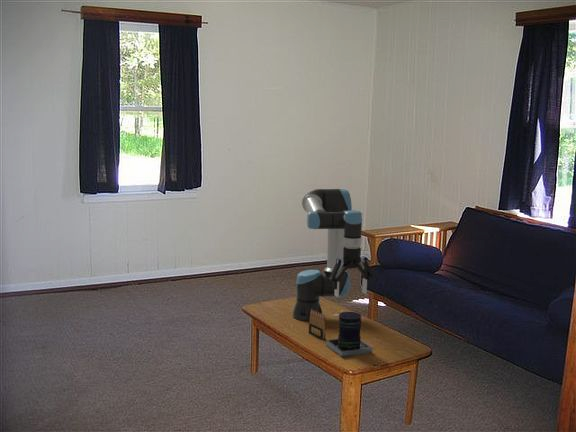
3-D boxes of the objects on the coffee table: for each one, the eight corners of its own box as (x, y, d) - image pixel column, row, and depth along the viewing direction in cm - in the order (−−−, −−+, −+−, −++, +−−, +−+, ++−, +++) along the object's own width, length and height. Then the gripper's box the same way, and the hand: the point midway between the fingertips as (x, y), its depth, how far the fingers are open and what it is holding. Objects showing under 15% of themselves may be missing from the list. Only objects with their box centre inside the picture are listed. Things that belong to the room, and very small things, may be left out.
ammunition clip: (325, 339, 302) (326, 314, 300) (322, 340, 301) (323, 314, 299) (311, 332, 311) (312, 308, 309) (308, 333, 310) (309, 308, 308)
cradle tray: (325, 345, 294) (326, 340, 293) (355, 341, 300) (355, 336, 299) (341, 357, 280) (341, 351, 280) (372, 352, 286) (372, 347, 286)
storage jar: (354, 342, 296) (356, 310, 293) (363, 350, 287) (365, 317, 284) (334, 345, 293) (335, 312, 290) (342, 353, 284) (343, 319, 281)
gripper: (330, 250, 274) (328, 299, 278) (381, 246, 284) (379, 294, 288) (322, 247, 281) (320, 295, 285) (373, 243, 291) (371, 289, 294)
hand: (350, 294), depth 286 cm, fingers open, 13 cm apart
